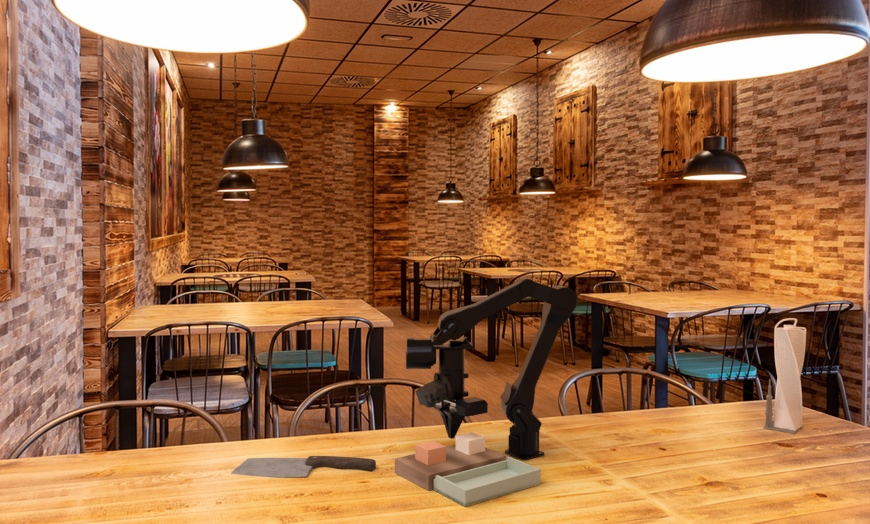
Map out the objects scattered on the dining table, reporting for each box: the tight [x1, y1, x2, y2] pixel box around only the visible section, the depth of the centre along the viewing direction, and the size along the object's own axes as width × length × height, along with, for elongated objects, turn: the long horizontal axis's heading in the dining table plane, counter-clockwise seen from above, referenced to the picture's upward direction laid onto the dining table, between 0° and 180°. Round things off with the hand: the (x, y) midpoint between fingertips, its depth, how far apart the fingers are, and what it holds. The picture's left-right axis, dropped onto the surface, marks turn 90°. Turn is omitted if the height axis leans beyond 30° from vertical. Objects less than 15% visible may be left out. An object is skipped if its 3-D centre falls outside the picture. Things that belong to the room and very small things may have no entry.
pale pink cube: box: [455, 431, 486, 455], centre depth 143 cm, size 4×4×3 cm
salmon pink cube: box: [414, 440, 447, 465], centre depth 137 cm, size 4×4×3 cm
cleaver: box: [230, 455, 377, 478], centre depth 140 cm, size 29×10×2 cm, turn 87°
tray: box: [433, 456, 542, 508], centre depth 130 cm, size 19×10×3 cm, turn 126°
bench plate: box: [394, 444, 507, 492], centre depth 139 cm, size 20×12×3 cm, turn 126°
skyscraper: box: [763, 317, 807, 434], centre depth 170 cm, size 8×8×28 cm
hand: (451, 438), depth 148 cm, fingers closed
